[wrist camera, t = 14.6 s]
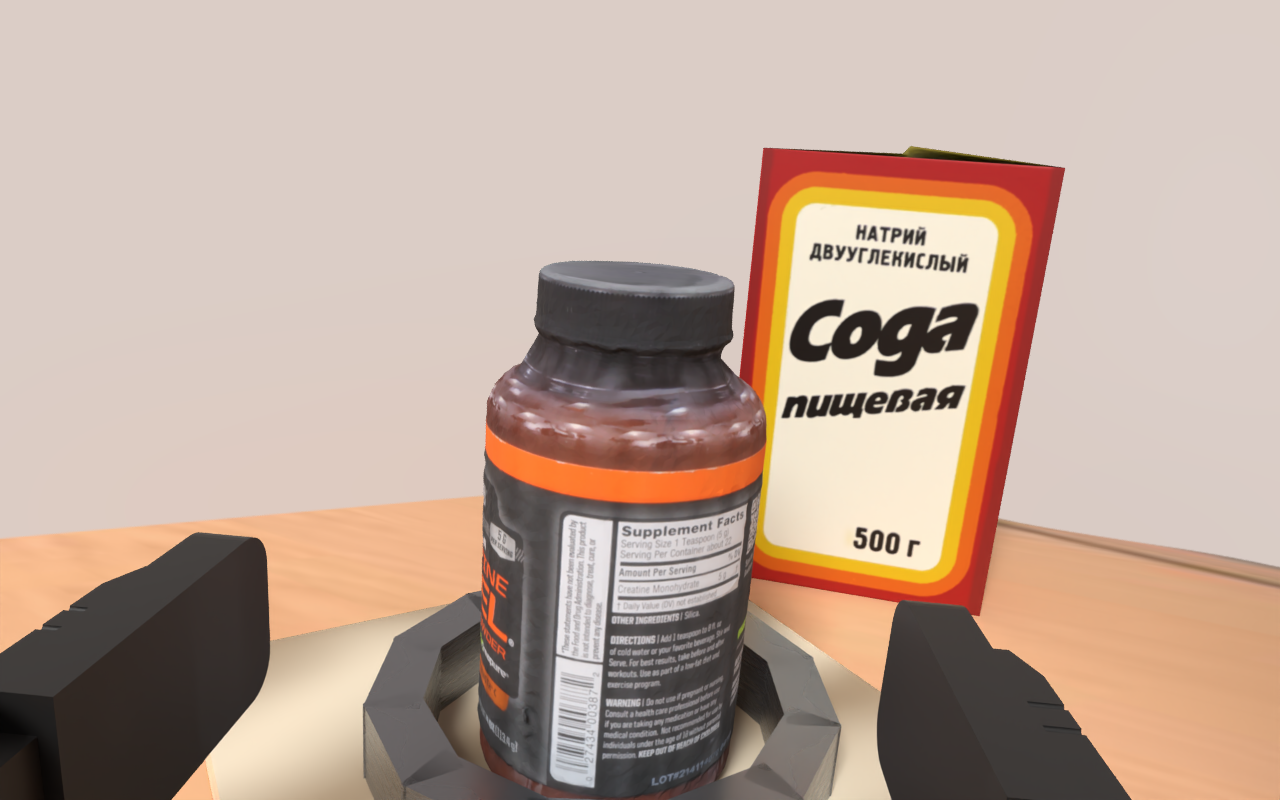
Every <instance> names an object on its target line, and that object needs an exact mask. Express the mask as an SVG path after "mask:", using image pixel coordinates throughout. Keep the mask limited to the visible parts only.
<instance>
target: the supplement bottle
mask: <svg viewBox="0 0 1280 800" xmlns="http://www.w3.org/2000/svg"><path fill="white" fill-rule="evenodd" d="M733 303H734V284H733V282H732V281H731V280H729V279H728V278H726V277H723V276H719V275H717V274H714V273H710V272H706V271H700V270H696V269H691V268H684V267H677V266H670V265H663V264H651V263H638V262H613V261H611V262H610V261H569V262H559V263H553V264H550V265H547V266H545V267H544V268H542V269H541V270H540V273H539V282H538V298H537V311H536V315H535V318H534V321H535V327H536V329H537V330H538V332H539V334H538V336H537V338H536V340H535V342H534V344H533V345H532V347H531V348H530V350H529V352H528V353H527V355H526V356H525V358H524V360H523V362H522V363H521V364H519V365H516V366H513V367H512V368H511V369H510V370H509V371H507V372H506V373H504V375H503V376H502V377H501V378H500V379H499V380H498V381H497V382H496V383H495V386H494V388H493V389H492V391H491V394H490V396H489V398H488V400H487V416H486V446H485V453H484V456H485V461H486V465H485V469H484V504H483V557H482V604H481V621H480V634H481V636H480V637H481V641H480V670H479V686H478V695H479V702H478V707H477V711H478V717H479V722H480V744H481V748H482V751H483V755H484V758H485V761H486V763H487V765H488V767H489V768H490V770H491V772H493V773H495V774H498V775H500V776H502V777H504V778H506V779H508V780H511V781H513V782H515V783H517V784H519V785H521V786H524V787H526V788H528V789H530V790H532V791H534V792H537V793H539V794H541V795H543V796H545V797H547V798H569V799H596V800H668V799H670V798H673V797H676V796H678V795H681V794H683V793H686V792H689V791H691V790H694V789H696V788H699V787H702V786H704V785H707V784H709V783H712V782H715V781H716V780H717V779H718V778H719V776H720V774H721V772H722V770H723V769H724V767H725V764H726V761H727V757H728V754H729V747H730V741H731V736H732V732H733V726H734V717H735V707H736V700H737V695H738V684H739V675H740V666H741V657H742V651H743V642H744V632H745V624H746V616H747V609H748V598H749V592H750V584H751V575H752V567H753V556H754V547H755V539H756V531H757V522H758V514H759V505H760V496H761V488H762V484H763V467H764V459H765V450H766V442H767V438H766V426H767V424H766V414H765V410H764V407H763V404H762V402H761V400H760V398H759V396H758V395H757V393H756V392H755V391H754V390H753V388H752V387H751V386H750V385H749V384H747V383H746V382H745V381H744V380H743V379H741V378H740V377H738V376H736V375H735V374H734V372H733V371H732V370H731V369H730V368H729V367H728V366H727V365H726V364H725V363H724V361H723V360H722V359H721V353H722V350H723V348H724V347H725V346H726V345H727V344H728V343H730V342H731V340H732V338H733V331H732V312H733Z"/></svg>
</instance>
